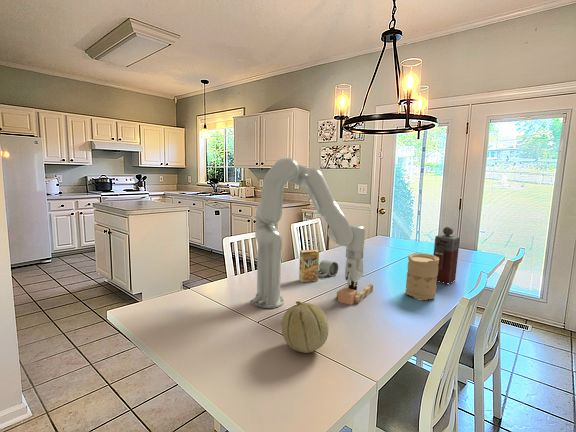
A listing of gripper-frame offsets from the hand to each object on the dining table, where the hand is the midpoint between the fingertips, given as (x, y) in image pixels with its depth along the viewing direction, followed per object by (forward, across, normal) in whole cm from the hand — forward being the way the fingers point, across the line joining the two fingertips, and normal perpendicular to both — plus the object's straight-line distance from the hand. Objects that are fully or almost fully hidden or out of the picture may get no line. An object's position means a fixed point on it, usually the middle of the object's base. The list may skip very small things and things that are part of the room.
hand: (352, 294), depth 144 cm
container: (+2, +20, -24) cm, 32 cm away
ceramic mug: (+2, +20, +22) cm, 30 cm away
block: (+1, -5, 0) cm, 5 cm away
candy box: (+2, +7, +26) cm, 27 cm away
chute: (+1, +3, 0) cm, 4 cm away
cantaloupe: (+2, -48, -4) cm, 48 cm away
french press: (+2, +47, -29) cm, 56 cm away
